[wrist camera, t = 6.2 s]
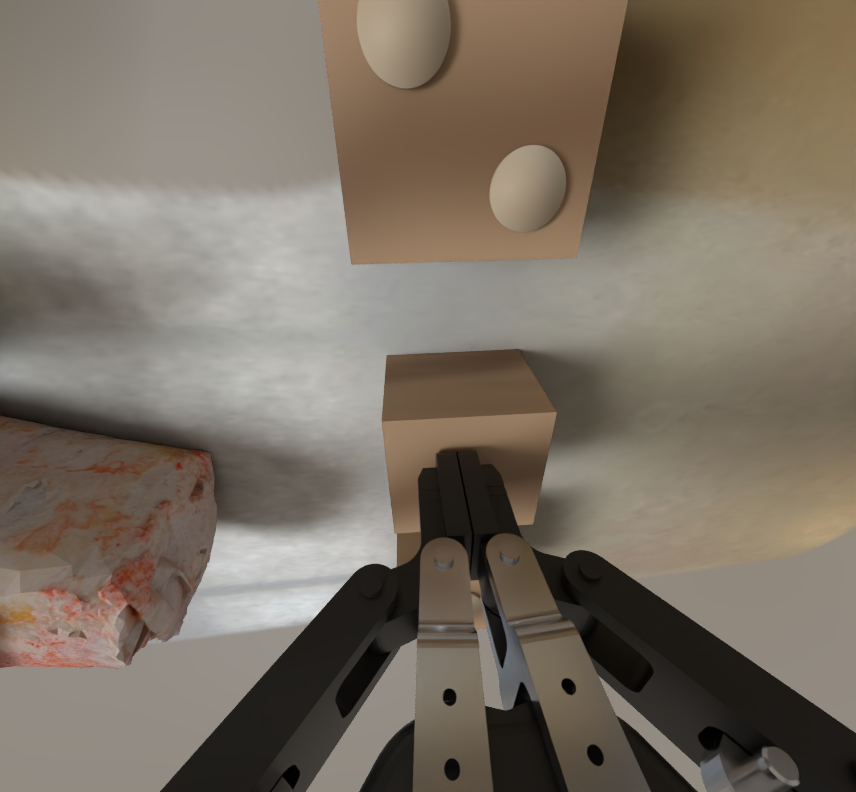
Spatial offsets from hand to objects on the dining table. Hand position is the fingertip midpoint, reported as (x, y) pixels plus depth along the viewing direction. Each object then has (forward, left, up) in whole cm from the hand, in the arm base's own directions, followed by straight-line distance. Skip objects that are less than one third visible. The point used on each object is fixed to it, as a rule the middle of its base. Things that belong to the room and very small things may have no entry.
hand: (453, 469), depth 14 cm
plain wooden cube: (0, +1, -5) cm, 5 cm away
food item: (+11, -15, -5) cm, 19 cm away
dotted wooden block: (-10, -4, -5) cm, 12 cm away
